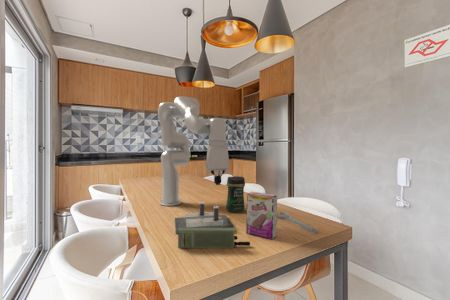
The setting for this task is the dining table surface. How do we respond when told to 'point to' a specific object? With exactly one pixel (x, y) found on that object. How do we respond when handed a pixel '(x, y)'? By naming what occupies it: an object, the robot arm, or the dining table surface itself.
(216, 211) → the handle
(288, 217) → the adjustable wrench
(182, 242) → the handheld radio
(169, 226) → the dining table surface
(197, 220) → the breaker panel
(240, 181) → the coffee jar
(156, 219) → the dining table surface
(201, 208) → the handle
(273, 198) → the candy bar box
